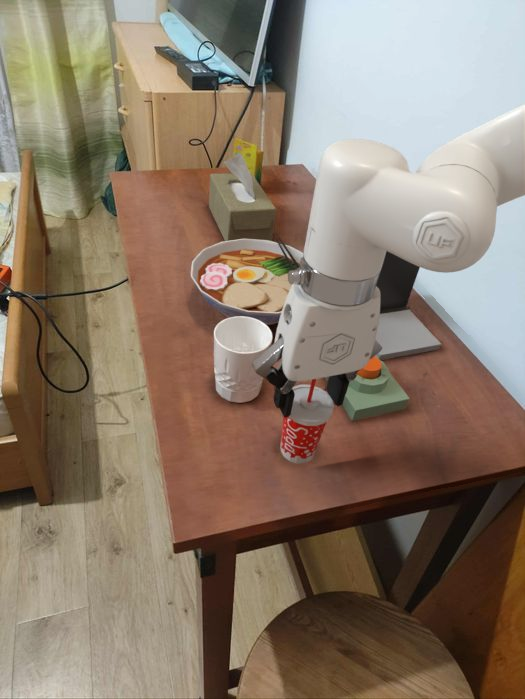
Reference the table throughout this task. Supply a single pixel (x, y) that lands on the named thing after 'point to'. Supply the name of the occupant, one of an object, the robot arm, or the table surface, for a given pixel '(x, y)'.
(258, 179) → the crayon box
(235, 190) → the tissue box
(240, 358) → the white cup
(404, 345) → the coffee maker
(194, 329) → the table surface
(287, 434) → the beverage cup
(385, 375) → the brew pad
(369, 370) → the button
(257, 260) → the ramen bowl
